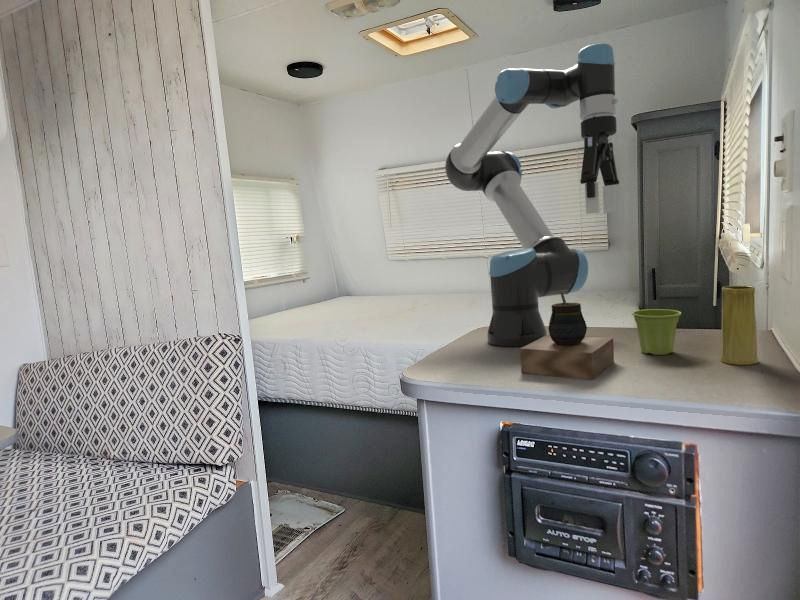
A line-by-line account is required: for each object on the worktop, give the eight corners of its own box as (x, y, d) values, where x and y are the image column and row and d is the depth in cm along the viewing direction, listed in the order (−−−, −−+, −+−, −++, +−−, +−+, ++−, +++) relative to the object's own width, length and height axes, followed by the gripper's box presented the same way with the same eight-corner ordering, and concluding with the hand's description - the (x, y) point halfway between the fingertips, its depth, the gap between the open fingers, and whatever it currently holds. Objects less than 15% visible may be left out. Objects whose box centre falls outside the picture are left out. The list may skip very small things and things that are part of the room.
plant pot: (671, 346, 116) (670, 307, 115) (690, 355, 106) (689, 314, 105) (627, 348, 117) (626, 310, 116) (642, 358, 107) (641, 317, 106)
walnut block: (521, 373, 104) (520, 348, 103) (547, 357, 115) (546, 335, 114) (593, 379, 95) (592, 352, 95) (614, 361, 106) (613, 337, 106)
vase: (729, 366, 97) (728, 290, 95) (714, 358, 103) (713, 286, 101) (765, 364, 96) (764, 287, 94) (748, 357, 102) (747, 284, 100)
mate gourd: (556, 348, 101) (553, 297, 100) (543, 341, 108) (540, 294, 107) (593, 344, 101) (590, 293, 100) (577, 338, 109) (574, 290, 108)
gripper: (598, 106, 106) (603, 211, 108) (629, 122, 125) (632, 211, 128) (562, 114, 110) (567, 215, 113) (597, 128, 130) (601, 214, 132)
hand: (601, 213), depth 120 cm, fingers open, 13 cm apart
